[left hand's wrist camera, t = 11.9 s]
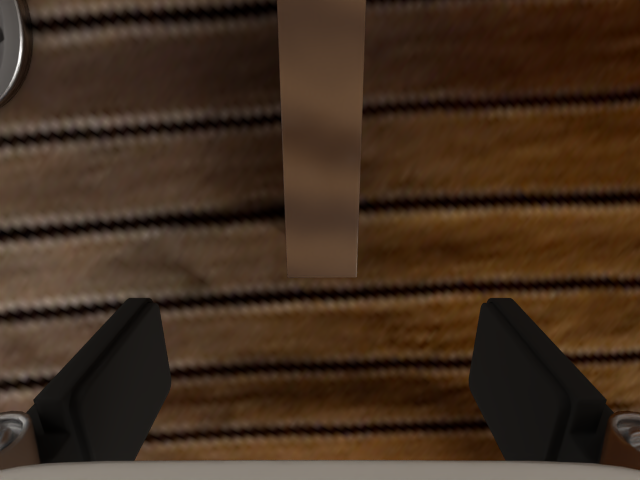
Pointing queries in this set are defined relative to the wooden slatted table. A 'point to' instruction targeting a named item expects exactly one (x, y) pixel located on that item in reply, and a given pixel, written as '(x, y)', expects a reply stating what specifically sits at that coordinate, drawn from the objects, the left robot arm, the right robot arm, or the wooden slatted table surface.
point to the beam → (321, 132)
